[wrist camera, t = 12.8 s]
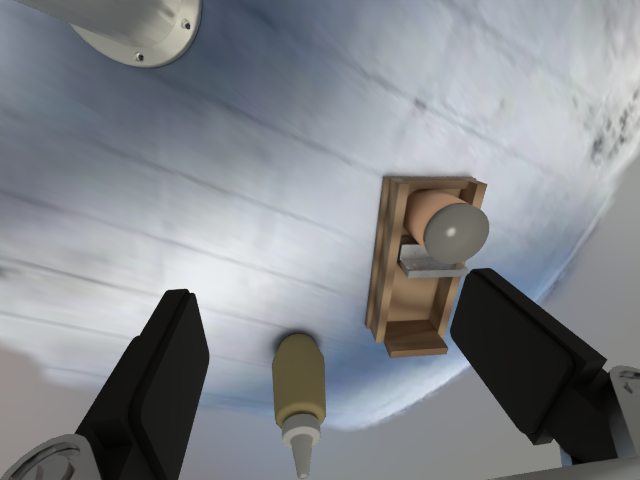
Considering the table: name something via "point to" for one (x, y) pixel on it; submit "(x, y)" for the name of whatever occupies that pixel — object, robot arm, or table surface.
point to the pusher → (424, 262)
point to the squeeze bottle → (299, 397)
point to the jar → (445, 225)
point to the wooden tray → (411, 293)
